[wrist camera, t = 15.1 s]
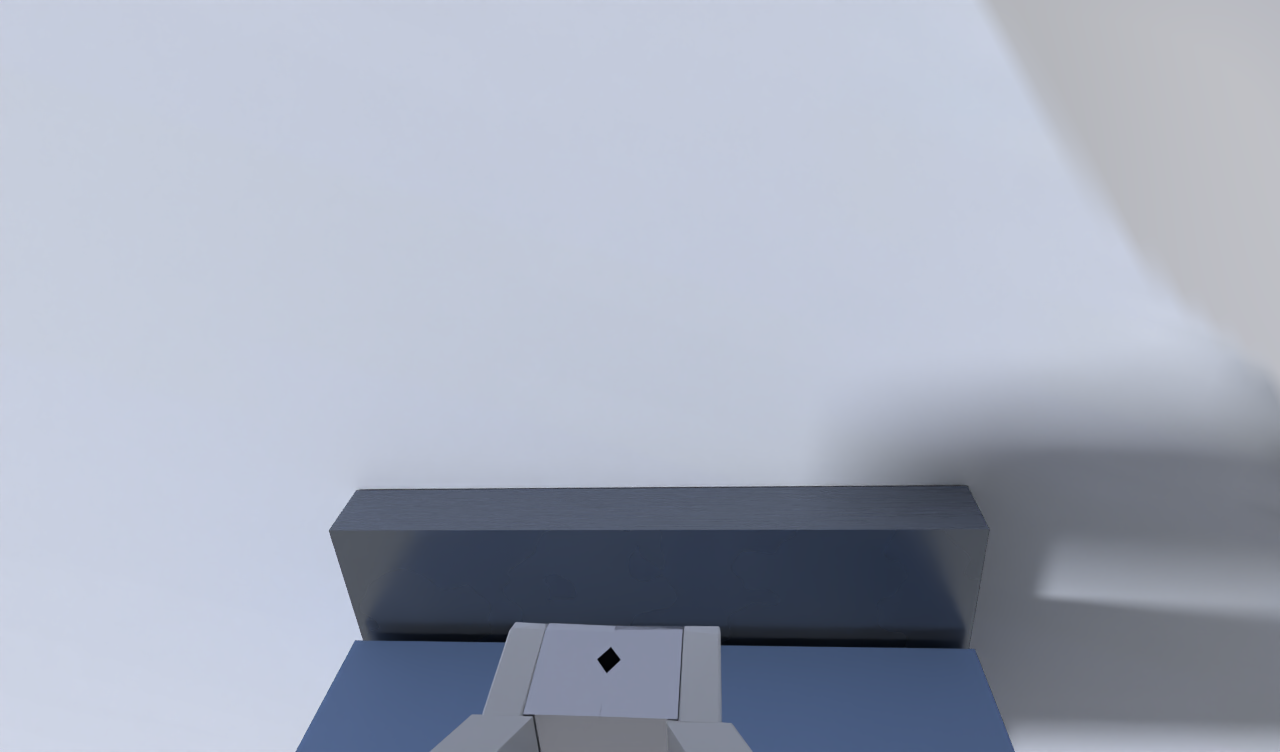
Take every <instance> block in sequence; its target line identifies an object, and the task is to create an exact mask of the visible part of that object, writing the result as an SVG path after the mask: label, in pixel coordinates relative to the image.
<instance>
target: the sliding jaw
mask: <svg viewBox="0 0 1280 752" xmlns="http://www.w3.org/2000/svg"><path fill="white" fill-rule="evenodd" d="M504 646H505V643H502V642H429V641H356V640H355V642H354V644H353V645H352V647H351V649H350V651H349V653H348V655H347V657H346V659H345V660H344V662H343V664H342V666H341V668H340V670H339V672H338V673H337V675H336V677H335V679H334V681H333V683H332V685H331V687H330V688H329V690H328V692H327V694H326V696H325V698H324V700H323V702H322V703H321V705H320V707H319V709H318V711H317V713H316V715H315V716H314V718H313V720H312V722H311V724H310V726H309V728H308V730H307V731H306V733H305V735H304V737H303V739H302V741H301V743H300V745H299V746H298V748H297V750H296V752H430V751H431V750H432V749H433V748H434V747H436V746H437V745H438V744H439V743H440V742H441V741H442V740H443V739H445V738H446V737H447V736H448V735H449V734H450V733H451V732H453V731H454V730H455V729H456V728H457V727H458V726H459V725H460V724H462V723H463V722H464V721H465V720H466V719H467V718H468V717H469V716H471V715H472V714H482V713H483V710H484V707H485V704H486V701H487V698H488V695H489V692H490V688H491V685H492V682H493V679H494V676H495V673H496V670H497V667H498V664H499V661H500V658H501V655H502V652H503V649H504ZM721 681H722V722H723V723H732V724H733V725H734V727H735V728H736V730H737V731H738V732H739V734H740V735H741V736H742V738H743V739H744V740H745V742H746V743H747V745H748V746H749V747H750V749H751V750H752V751H753V752H1015V751H1014V748H1013V746H1012V743H1011V741H1010V738H1009V736H1008V733H1007V730H1006V728H1005V725H1004V723H1003V720H1002V718H1001V715H1000V713H999V710H998V707H997V705H996V702H995V700H994V697H993V695H992V692H991V690H990V687H989V684H988V682H987V679H986V677H985V674H984V672H983V669H982V667H981V664H980V661H979V659H978V656H977V654H976V651H975V649H942V648H869V647H795V646H722V645H721Z"/></svg>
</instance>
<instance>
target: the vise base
mask: <svg viewBox="0 0 1280 752" xmlns="http://www.w3.org/2000/svg"><path fill="white" fill-rule="evenodd" d="M329 533H330V536H331V539H332V542H333V545H334V549H335V552H336V555H337V558H338V561H339V565H340V568H341V571H342V574H343V577H344V581H345V584H346V587H347V590H348V593H349V597H350V600H351V603H352V606H353V609H354V612H355V616H356V619H357V622H358V625H359V628H360V632H361V635H362V638H363V641H429V642H502V643H505V642H506V639H507V636H508V633H509V630H510V629H511V628H512V626H513V625H514V624H515V622H523V623H543V624H549V623H560V624H583V625H605V626H684V628H685V626H719V628H720V632H721V645H722V646H795V647H869V648H942V649H969V644H970V639H971V633H972V627H973V621H974V615H975V610H976V604H977V598H978V592H979V587H980V581H981V575H982V569H983V564H984V558H985V552H986V546H987V541H988V535H989V527H988V525H987V524H986V522H985V520H984V518H983V516H982V514H981V512H980V510H979V508H978V506H977V504H976V502H975V500H974V498H973V496H972V494H971V492H970V490H969V488H968V486H895V487H756V488H617V489H477V490H356V492H355V493H354V495H353V496H352V498H351V499H350V500H349V502H348V503H347V505H346V506H345V508H344V509H343V511H342V512H341V514H340V515H339V516H338V518H337V519H336V521H335V522H334V524H333V525H332V527H331V528H330V530H329Z"/></svg>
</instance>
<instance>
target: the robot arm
mask: <svg viewBox="0 0 1280 752" xmlns="http://www.w3.org/2000/svg"><path fill="white" fill-rule="evenodd" d="M430 752H753V751H752V750H751V749H750V747H749V746H748V745H747V743H746V742H745V740H744V739H743V738H742V736H741V735H740V734H739V732H738V731H737V730H736V728H735V727H734V725H733V724H732V723H723V722H722V681H721V632H720V628H719V626H685V628H684V626H605V625H583V624H560V623H549V624H543V623H523V622H515V624H514V625H513V626H512V628H511V629H510V630H509V633H508V636H507V639H506V642H505V646H504V649H503V652H502V655H501V658H500V661H499V664H498V667H497V670H496V673H495V676H494V679H493V682H492V685H491V688H490V692H489V695H488V698H487V701H486V704H485V707H484V710H483V713H482V714H472V715H471V716H469V717H468V718H467V719H466V720H465V721H464V722H463V723H462V724H460V725H459V726H458V727H457V728H456V729H455V730H454V731H453V732H451V733H450V734H449V735H448V736H447V737H446V738H445V739H443V740H442V741H441V742H440V743H439V744H438V745H437V746H436V747H434V748H433V749H432V750H431V751H430Z"/></svg>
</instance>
